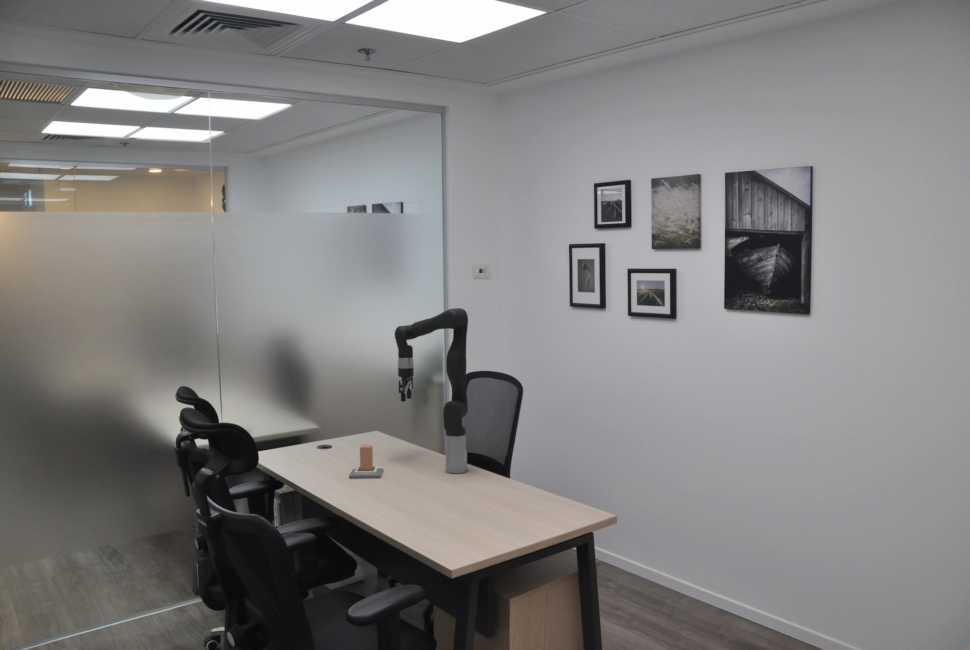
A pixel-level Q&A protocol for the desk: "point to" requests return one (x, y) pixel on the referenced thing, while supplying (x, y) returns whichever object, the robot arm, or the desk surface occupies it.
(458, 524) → the desk surface
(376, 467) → the baseplate
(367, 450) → the column
